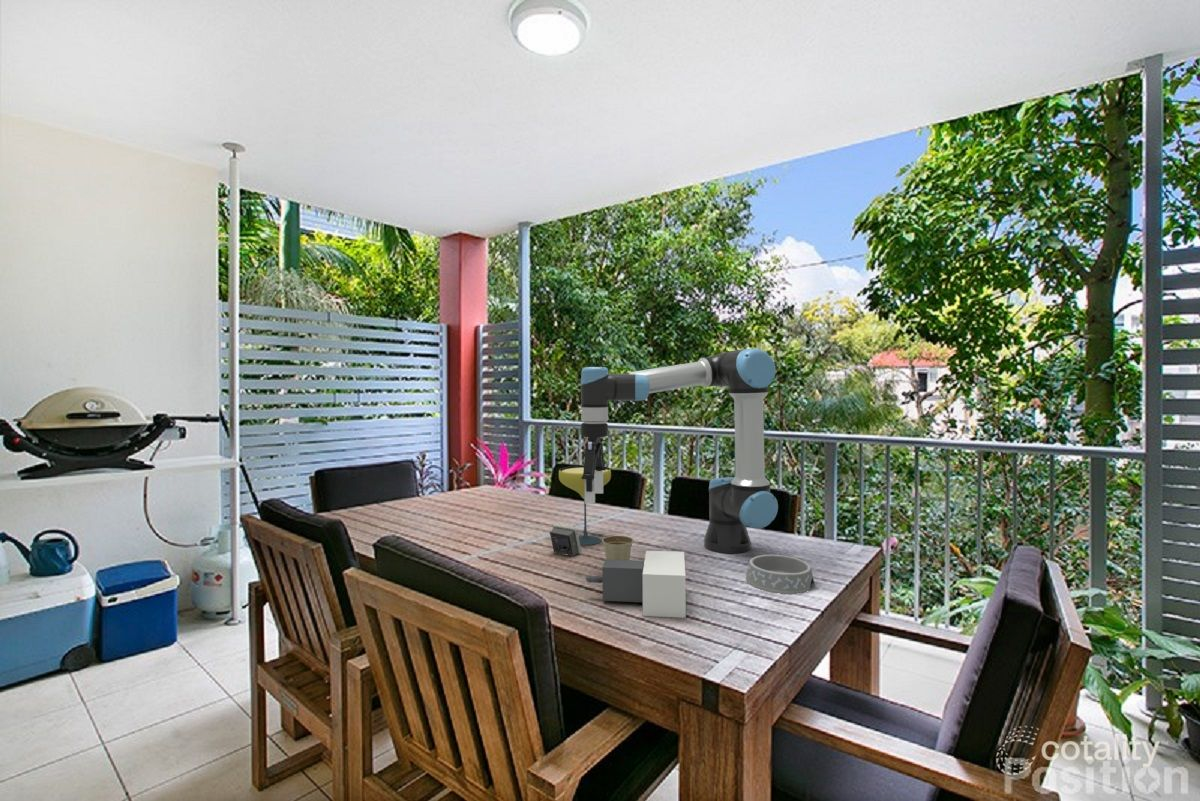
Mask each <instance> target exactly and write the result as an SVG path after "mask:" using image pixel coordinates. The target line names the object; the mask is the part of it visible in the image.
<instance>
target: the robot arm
mask: <svg viewBox="0 0 1200 801" xmlns="http://www.w3.org/2000/svg"><path fill="white" fill-rule="evenodd" d="M580 373H581V374H580V376H581V377H580V397H581V398H580V403H581V404H580V405H581V406H580V410H579V412H578V413H579V414H581V415H580V416H581V417H580V419H581V421H582V423H580V436H581V437H583V438H588V441H585V442H584V445H585V447H584V448H585V449H584V450H585V451H584V461H583V465H584V471H583V476H582V479H585V503H586V505H587V504H589V505H590V504H592V505H593V504H596V494H599V495H600V494H604V486H603V471H602V470H605V471H606V467H607V466H606V464H605V456H604V445H603V444H604V443H603V442H604V441H603V440H604V438H606V437H608V435H609V425H608V423H607V422H608V421H609V401H610V402H615V401H618V402H623V401H624V402H633V401H634V402H639V401H645V400H647V399H648V397H649V395H650V394H653V393H661V392H666V391H673V390H678V389H685V388H691V387H696V386H697V387H698V386H702V387H704V388H709V387H726V388H727V387H728V395H729V396H730V397H731V398H732V399H733V401H734V403H733V405H734V406H733V407H734V408H733V409H734V410H733V411H734V414H733V415H734V449H735V450H734V452H735V454H734V457H735V461H734V462H735V475H734V477H733V476H732V477H731V476H730V477H716V478H712V479H711V480H710V481H709V486H708V493H709V495H708V497H709V498H708V499H709V500H708V506H709V508H708V509H709V510H708V512H709V513H708V514H709V520H708V521H709V522H708V526H707V529H706V532H705V535H704V538H703V546H704V547H705V548H706V549H707V550H710V551H712V552H716V553H724V554H739V553H744V552H745V553H746V552H748V551H750V550H751V547H752V546H751V545H752V544H751V542H752V541H751V539H750V535H749V532H748V529H747V527H749V528H752V529H762V528H765V527H767V526H769V525H770V524H771V523H772V522H773V521H774V520H775V518H776V517H777V514H778V510H779V504H778V499H777V498H776V496H774V494H773V493H772V492H771V482H770V480H768V479H767V478H766V474H765V430H764V429H765V428H764V425H765V424H764V423H765V422H764V421H765V420H764V419H765V418H764V399H765V397H767V395H768V394H769V385H771V384H772V382H773V380H774V379H775V377H776V365H775V362H774V360H773V358H772V357H771V356H770V355H769V354H768V352H766V351H764V350H762V349H759V348H744V349H737V350H729V351H724V352H720V353H718V354H715V355H714V354H713V355H710V356H705V357H700V358H699V359H698V360H697V361H694V362H687V363H682V364H674V365H667V366H661V367H655V368H649V369H648V368H647V369H642V370H636V371H629V372H623V373H617V374H613V373H611V374H610V373H609V369H608V368H607V367H604V366H602V367H601V366H586V367H583V368H582V370H581V372H580ZM595 470H596V471H595Z"/></svg>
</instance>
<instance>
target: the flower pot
mask: <svg viewBox="0 0 1200 801" xmlns="http://www.w3.org/2000/svg"><path fill="white" fill-rule="evenodd" d="M601 542H602V543H603V544H602V545H603V547H604V552H605V553H604V555H605V560H630V559H631V558H630V557H631V550H632V547H633V543H635V542H634V538H632V537H631V536H627V535H626V536H625V535H610V536H609V535H608V536H605V537H603V538H602V539H601Z"/></svg>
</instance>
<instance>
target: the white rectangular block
mask: <svg viewBox="0 0 1200 801" xmlns="http://www.w3.org/2000/svg"><path fill="white" fill-rule="evenodd" d="M643 561H644V568H643V602H642V616H643V617H658V618H659V617H660V618H676V619H677V618H678V619H680V618H681V619H686V616H687V615H686V614H687V613H686V611H687V609H686V604H687V603H686V600H687V599H686V594H687V593H686V590H687V589H686V563H685V552H684V551H671V550H670V551H669V550H646V551H645V556H644V560H643Z"/></svg>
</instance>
